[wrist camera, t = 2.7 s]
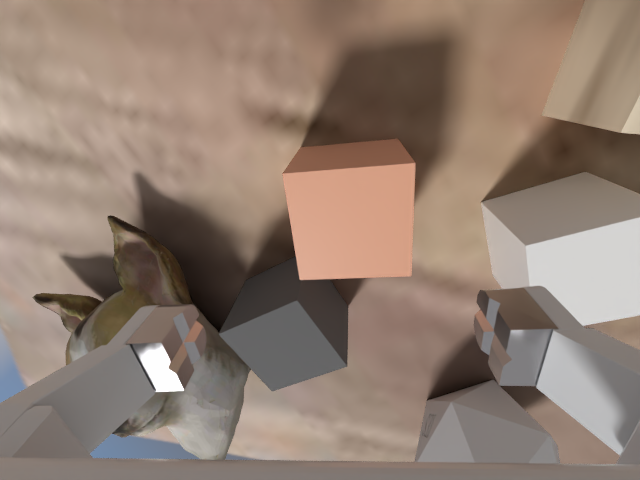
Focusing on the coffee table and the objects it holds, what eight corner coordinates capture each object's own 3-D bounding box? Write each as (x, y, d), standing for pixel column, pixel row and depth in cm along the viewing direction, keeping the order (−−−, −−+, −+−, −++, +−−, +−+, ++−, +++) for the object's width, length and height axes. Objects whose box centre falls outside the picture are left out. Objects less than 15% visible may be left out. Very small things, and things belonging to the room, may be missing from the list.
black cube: (309, 249, 19) (297, 300, 15) (348, 305, 21) (347, 366, 17) (246, 279, 21) (218, 334, 16) (287, 329, 23) (272, 391, 18)
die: (414, 349, 23) (380, 512, 19) (567, 381, 17) (568, 626, 13) (448, 378, 29) (428, 510, 24) (573, 410, 23) (576, 590, 19)
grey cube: (584, 171, 16) (675, 208, 11) (585, 252, 18) (662, 310, 13) (480, 201, 17) (525, 245, 13) (492, 274, 19) (534, 334, 15)
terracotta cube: (397, 138, 16) (415, 163, 11) (396, 227, 18) (411, 276, 14) (300, 147, 16) (282, 173, 12) (311, 231, 19) (299, 280, 14)
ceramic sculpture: (151, 522, 19) (-83, 371, 15) (212, 398, 27) (67, 277, 23) (275, 475, 15) (5, 259, 12) (304, 347, 23) (148, 193, 19)
